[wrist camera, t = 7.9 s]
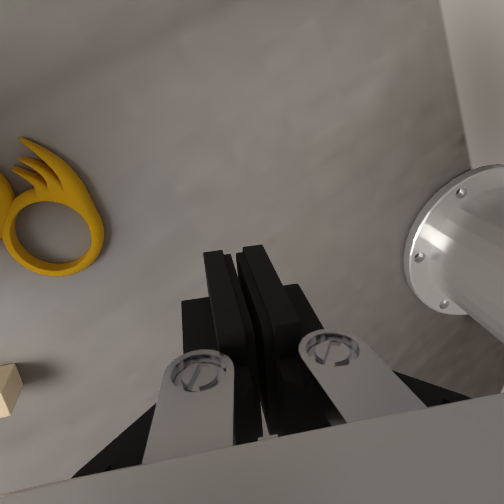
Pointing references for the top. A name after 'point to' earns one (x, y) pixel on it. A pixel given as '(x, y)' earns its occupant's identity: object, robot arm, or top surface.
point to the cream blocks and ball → (9, 388)
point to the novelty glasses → (48, 189)
